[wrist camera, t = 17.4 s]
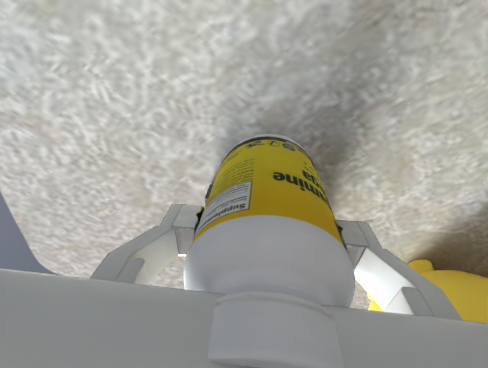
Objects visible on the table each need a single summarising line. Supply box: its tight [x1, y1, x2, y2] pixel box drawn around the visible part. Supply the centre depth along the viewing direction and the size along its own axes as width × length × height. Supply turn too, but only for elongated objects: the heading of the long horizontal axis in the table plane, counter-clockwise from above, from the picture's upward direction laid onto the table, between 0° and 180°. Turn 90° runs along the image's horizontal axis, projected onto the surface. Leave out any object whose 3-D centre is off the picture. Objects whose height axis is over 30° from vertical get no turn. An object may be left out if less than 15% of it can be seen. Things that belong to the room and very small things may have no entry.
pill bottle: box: [183, 134, 355, 368], centre depth 10 cm, size 6×6×11 cm
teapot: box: [368, 259, 488, 323], centre depth 23 cm, size 20×16×14 cm
